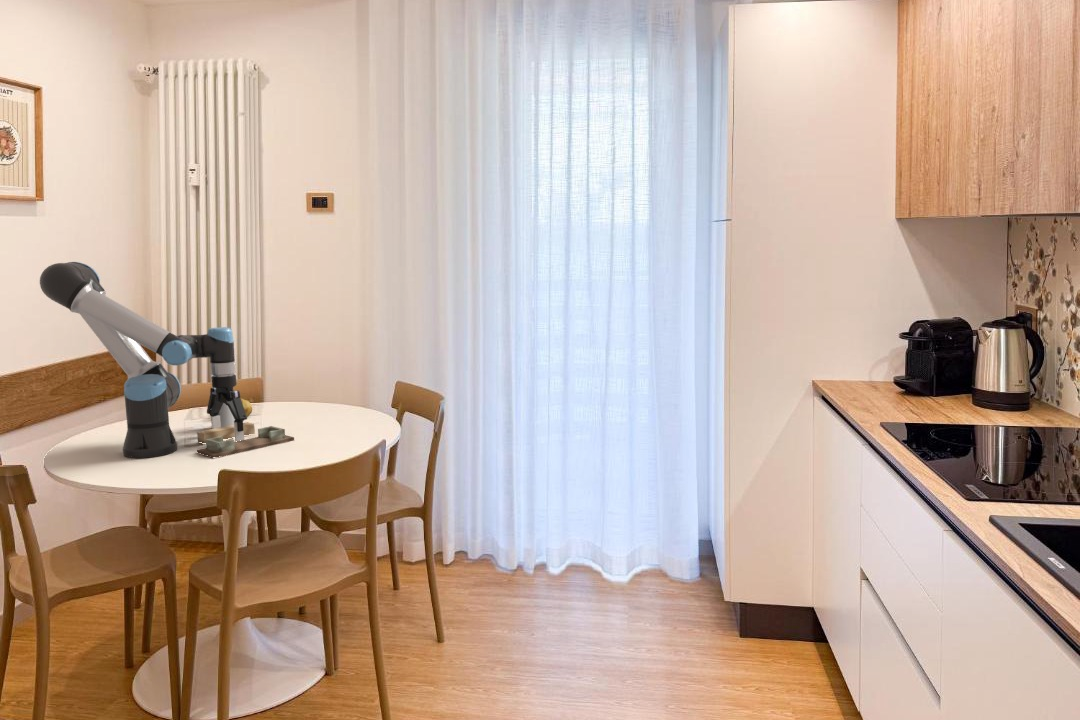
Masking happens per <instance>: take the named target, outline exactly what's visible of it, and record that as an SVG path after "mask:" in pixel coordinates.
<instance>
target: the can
mask: <svg viewBox="0 0 1080 720" xmlns="http://www.w3.org/2000/svg"><path fill="white" fill-rule="evenodd" d="M211 410H212V409H211ZM219 413H220V415H217V416H220V422H221V427H226V426H231V425H234V420H235V419H234V417H233V415H232V413H231V411H230V409H229V407H228V406H227V405H226V404H224V403H223V405H222V407H221V410H220V412H219ZM211 421H212V419H211Z"/></svg>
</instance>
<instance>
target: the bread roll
mask: <svg viewBox="0 0 1080 720" xmlns="http://www.w3.org/2000/svg"><path fill="white" fill-rule="evenodd" d="M240 398H241V401H242V404H243V407H244V410H245V413H246V416H247V418H248V417H249V416H251V414H252V412H253V406H252V404H251V402H250V401H249V400H248V399H244V398H242V397H240Z"/></svg>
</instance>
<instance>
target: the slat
mask: <svg viewBox="0 0 1080 720" xmlns="http://www.w3.org/2000/svg"><path fill="white" fill-rule="evenodd" d="M243 429H244V430H243V432H244V435H249V434H256V431H255V423H252V422H249V421H246V422H243ZM196 434H197V443H198V442H202V443H206V439H211V438H216V437H223V439H228V438H232V437H235V431H234V425H231V426H226V427H220V428H215V429H212V428H211V429H206V430H202V431H201V430H200V431H197V433H196Z"/></svg>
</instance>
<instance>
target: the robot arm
mask: <svg viewBox="0 0 1080 720" xmlns="http://www.w3.org/2000/svg"><path fill="white" fill-rule="evenodd" d="M100 282H101V280H100V276H99V274H98V272H97V271H96V270H95V269H94V268H93V267H91V266H90V265H88V264H85V263H82V262H80V261H79V262H78V261H69V262H59V263H54V264H50V265H48V266H47V267H45V269H44V270H43V271H42V273H41V275H40V277H39V287H40V289H41V292H42V293H43V295H45V296H46V297H47V298H48V299H50V300H51V301H53V302H55V303H57V304H59V305H61V306H62V307H64V308H66V309H69V311H70V312H71V313H75V314H79V315H80V316H81V318H82V319H83V320H84V322H85V323H86V324H87V325H88V327H89V328H90V329H91V331H92V332H93V333H94V334H95V335H96V337H97V338H98V339H99V341H100V342H101V344H102V345H103V346H104V348H106V350H107V351H108V352H109V354H110V355H111V356H112V358H113V359H114V360H115V361H116V363H117V364H118V365H119V366H120V368H121V369H122V370H123V372H124V373H125V374H126V375H127V380H126V381H125V382H124V385H123V388H124V389H123V395H124V402H125V413H126V414H125V415H126V425H127V427H126V428H127V430H126V435H125V438H124V442H123V445H122V454H123V456H124V457H126V458H132V459H133V458H135V459H142V458H143V459H144V458H145V459H146V458H154V457H159V456H165V455H168V454H172V453H175V452H176V451H177V450H178V443H177V439H176V437H175V435H174V433H173V431H172V429H171V425H170V420H169V419H170V418H169V408H171V407H172V406H174V405H175V404H176V402H177V401H178V400H179V398H180V396H181V393H182V387H181V382H180V379H179V378H177V376H175V374H173V373H171V372H169V371H168V370H167V369H166V368H165V367H164V366H163V365H162V363H161V362H160V361H154V360H153V359H152V358H151V357H150V355H148V353H147V352H146V351H145V349H144V348H146V349H148V350H150V351H151V352H154V353H155V354H157V355H159V356H160V357H162V358H163V360H164V361H165V363H166V364H168V365H172V366H181V365H184V364H187V363H188V362H189V361H191V360H192V359H200V358H204V359H205V358H209V364H210V374H211V375H212V376H211V378H210V379H211V387H210V389H209V390H210V391H209V392H210V393H209V394H210V395H209V399H208V403H207V409H206V413H207V414H208V415H209V416H210V417H211V419H212V420H211V429H215V428H220V427H221V422H220V416H217V415H220V413H219V412H220V410H221V407H222V405H223V403H224V404H226V405H227V406H228V407H229V409H230V411H231V413H232V415H233V417H234V431H235V439H234V442H235V441H240V440H245V437H244V432H243V430H244V429H243V423H244V421H245V420H248V417H247V416H246V413H245V410H244V407H243V404H242V401H241V398H242V397H241V394H240V393H241V392H240V391H239V390H235V391H234V387H236V386H237V375H236V363H235V340H234V335H233V330H232V329H231V328H230V327H226V326H223V327H221V326H220V327H211V328H210V327H209V328H208V330H207V334H184V335H183V334H178V335H176V334H173V333H171V332H170V331H169V330H166V329H165V328H163V327H161V326H159V325H158V324H156V323H154V322H153V321H151V320H149V319H148V318H146V317H144V316H142V315H140V314H138V313H137V312H135V311H134V310H131V309H130V308H128V307H126V306H124V305H122V304H121V303H119V302H117V301H115V300H113V299H112V298H110V297H109V296H107V291H106V290H105V288H104V287H103V286H102V285H101V283H100ZM142 346H143V347H144V348H143V347H142ZM211 409H212V410H211Z"/></svg>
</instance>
